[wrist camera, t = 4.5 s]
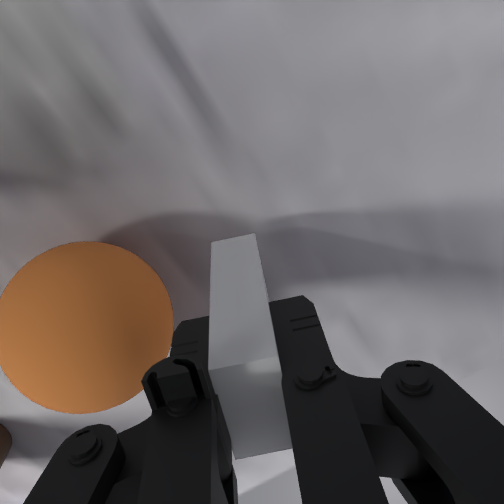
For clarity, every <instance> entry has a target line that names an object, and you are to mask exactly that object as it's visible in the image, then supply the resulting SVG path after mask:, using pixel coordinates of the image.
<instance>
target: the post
mask: <svg viewBox="0 0 504 504" xmlns="http://www.w3.org/2000/svg"><path fill="white" fill-rule="evenodd" d="M11 445H12V439H11V436H10V434H9V432H8V431H7V430H6V428H4V427H3V426H2V425H1V424H0V468H1V466H2V464H3V462H4V460H5V458H6V456H7V454H8V452H9V450H10V448H11Z"/></svg>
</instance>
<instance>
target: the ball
mask: <svg viewBox="0 0 504 504" xmlns="http://www.w3.org/2000/svg"><path fill="white" fill-rule="evenodd" d="M173 330H174V316H173V308H172V304H171V301H170V297H169V295H168V292H167V290H166V287H165V286H164V284H163V282H162V281H161V279H160V278H159V276H158V275H157V273H156V272H155V271H154V270H153V269H152V268H151V267H150V266H149V265H148V264H147V263H146V262H145V261H144V260H142V259H141V258H140V257H138V256H137V255H135V254H133V253H132V252H130V251H128V250H125V249H123V248H121V247H118V246H115V245H111V244H107V243H101V242H75V243H69V244H65V245H61V246H58V247H55V248H53V249H50V250H48V251H46V252H44V253H42V254H40V255H38V256H36V257H35V258H34V259H32V260H31V261H29V262H28V263H27V264H26V265H25V266H23V267H22V268H21V269H20V270H19V271H18V272H17V273H16V275H15V276H14V277H13V278H12V279H11V281H10V282H9V284H8V285H7V287H6V288H5V290H4V292H3V294H2V296H1V298H0V365H1V367H2V369H3V371H4V373H5V375H6V376H7V377H8V379H9V380H10V382H11V383H12V384H13V385H14V386H15V387H16V388H17V389H18V390H19V391H20V392H21V393H22V394H23V395H24V396H26V397H27V398H29V399H30V400H31V401H33V402H35V403H37V404H39V405H41V406H43V407H45V408H48V409H51V410H55V411H59V412H64V413H71V414H85V413H94V412H100V411H104V410H107V409H110V408H112V407H115V406H118V405H120V404H122V403H124V402H126V401H128V400H129V399H131V398H132V397H134V396H136V395H137V394H138V393H139V392H140V391H142V390H143V389H144V388H143V385H142V383H141V380H142V378H143V376H144V374H145V373H146V372H147V370H148V369H149V368H150V367H151V366H152V365H154V364H156V363H157V362H159V361H161V360H162V359H165V358H166V357H167V355H168V352H169V349H170V346H171V342H172V337H173Z"/></svg>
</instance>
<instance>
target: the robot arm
mask: <svg viewBox="0 0 504 504" xmlns="http://www.w3.org/2000/svg"><path fill="white" fill-rule="evenodd" d="M171 347H172V348H171V351H170V357H168V358H165V359H162V360H161V361H159V362H157V363H156V364H154V365H152V366H151V367H150V368H149V369H148V370H147V372H146V373H145V374H144V376H143V378H142V380H141V383H142V385H143V388H144V391H145V393H146V396H147V398H148V401H149V403H150V406H151V409H152V415H151V416H150V417H149V418H148V419H146V420H145V421H143V422H141V423H140V424H138V425H136V426H134V427H132V428H130V429H127V430H125V431H123V432H121V433H119V434H117V433H116V431H115V430H114V429H113V428H112V427H110V426H109V425H103V424H97V425H91V426H87V427H85V428H83V429H81V430H78V431H76V432H75V433H74V434H72V435H71V436H70V437H68V438H67V439H66V440H65V441H64V442H63V443H62V444H61V446H60V447H59V448H58V449H57V451H56V452H55V454H54V456H53V457H52V459H51V460H50V462H49V463H48V465H47V467H46V468H45V470H44V471H43V473H42V475H41V476H40V478H39V479H38V481H37V482H36V484H35V486H34V487H33V489H32V490H31V492H30V494H29V495H28V497H27V498H26V500H25V501H24V503H23V504H238V493H237V479H236V475H235V472H234V469H233V465H232V451H233V454H234V457H235V460H236V459H241V458H246V457H251V456H256V455H261V454H266V453H272V452H277V451H282V450H287V449H292V448H293V453H294V459H295V464H296V470H297V475H298V481H299V487H300V492H301V498H302V504H389V503H388V500H387V497H386V495H385V492H384V489H383V486H382V484H381V481H380V478H379V476H380V477H390V478H392V481H393V483H394V484H395V486H396V487H397V489H398V490H399V491H400V493H401V494H402V496H403V497H404V499H405V500H406V501H407V503H408V504H504V426H503V425H502V424H501V423H500V422H499V421H498V420H496V419H495V418H494V417H493V416H492V415H491V414H490V413H489V412H488V411H486V410H485V409H484V408H483V407H482V406H481V405H480V404H479V403H478V402H477V401H475V400H474V399H473V398H472V397H471V396H470V395H469V394H468V393H466V391H464V390H463V389H462V388H461V387H460V386H459V385H458V384H457V383H456V382H454V381H453V380H452V379H451V378H450V377H449V376H448V375H447V374H446V373H445V372H443V371H442V370H441V369H439V368H438V367H436V366H434V365H433V364H430V363H426V362H423V361H415V360H406V361H402V362H398V363H395V364H393V365H391V366H390V367H388V368H386V370H385V371H384V373H383V374H382V375H381V378H364V377H357V376H354V375H351V374H348V373H346V372H344V371H342V370H341V369H340V368H339V367H338V366H337V365H336V364H335V362H334V360H333V358H332V355H331V352H330V349H329V346H328V344H327V341H326V338H325V335H324V332H323V329H322V327H321V324H320V321H319V318H318V316H317V312H316V310H315V307H314V304H313V303H312V302H311V301H309V300H308V299H307V298H306V297H304V296H303V295H302V296H297V297H292V298H287V299H282V300H277V301H273V302H269V298H268V293H267V288H266V284H265V279H264V274H263V269H262V265H261V260H260V255H259V250H258V246H257V241H256V236H255V233H253V234H248V235H243V236H239V237H234V238H229V239H224V240H219V241H215V242H211V272H210V315H209V316H206V317H201V318H196V319H191V320H186V321H182V322H181V323H180V324H179V326H178V327H177V329H176V330H175V331H174V333H173V337H172V344H171Z"/></svg>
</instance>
